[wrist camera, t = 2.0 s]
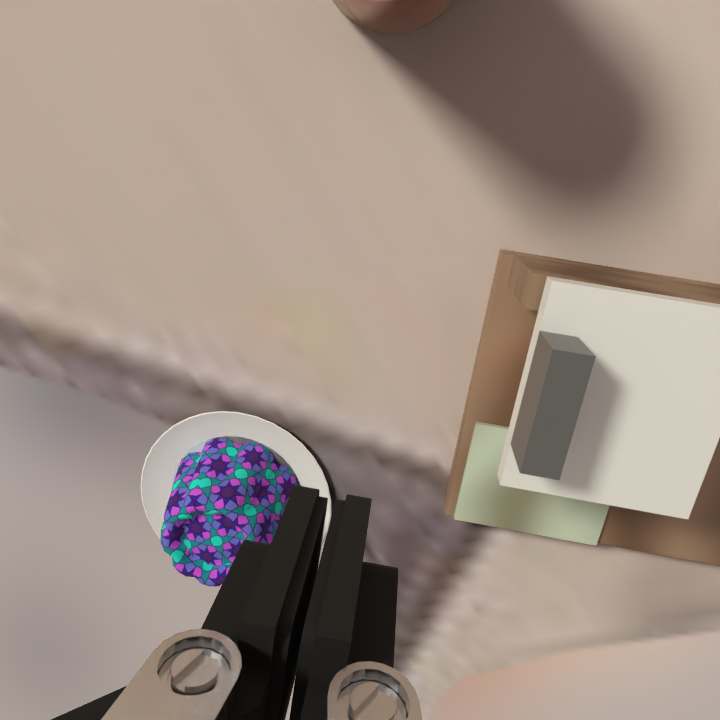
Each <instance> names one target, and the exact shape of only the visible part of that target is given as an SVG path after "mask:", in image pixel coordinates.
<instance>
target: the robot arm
mask: <svg viewBox="0 0 720 720" xmlns="http://www.w3.org/2000/svg"><path fill="white" fill-rule="evenodd" d="M319 492H320V490H319V489H315V488H309V487H304V486H298V485H294V487H293V489H292V492H291V494H290V497H289V499H288V502H287V504H286V507H285V509H284V512H283V514H282V517H281V519H280V522H279V524H278V527H277V529H276V532H275V535H274V537H273V540H272V542H271V544H266V543H261V542H255V541H250V540H244V541H243V543H242V544H241V546H240V548H239V550H238V552H237V555H236V557H235V559H234V561H233V563H232V565H231V567H230V569H229V571H228V573H227V576H226V578H225V580H224V582H223V584H222V586H221V589H220V590H219V593H218V595H217V597H216V599H215V601H214V603H213V605H212V607H211V609H210V611H209V614H208V616H207V618H206V620H205V622H204V624H203V626H202V628H201V629H196V630H188V631H184V632H181V633H177V634H175V635H173V636H171V637H170V638H168V639H166V640H165V641H163V642H162V643H161V644H160V645H159V646H158V647H157V648H156V649H155V650H154V651H153V653H152V654H151V655H150V656H149V658H148V659H147V661H146V662H145V663H144V664H143V666H142V667H141V668H140V670H139V671H138V672H137V674H136V675H135V676H134V677H133V679H132V680H131V681H130V683H129V684H128V685H127V686H126V687H123V688H121V689H119V690H116V691H114V692H112V693H110V694H108V695H105V696H103V697H101V698H98V699H96V700H94V701H92V702H90V703H87V704H85V705H83V706H81V707H79V708H76V709H74V710H72V711H69V712H67V713H65V714H63V715H60V716H58V717H56V718H54V719H52V720H285V717H286V713H287V708H288V705H289V701H290V696H291V692H292V688H293V684H294V680H295V685H294V692H293V699H292V706H291V712H290V719H289V720H422V715H421V709H420V703H419V700H418V697H417V694H416V691H415V689H414V687H413V686H412V685H411V683H410V682H409V680H408V679H407V678H406V677H405V676H403V675H402V674H401V673H400V672H399V671H397V670H396V669H394V668H393V664H394V644H395V625H396V605H397V585H398V568H395V567H390V566H384V565H379V564H373V563H368V562H363V556H364V549H365V542H366V535H367V528H368V521H369V514H370V507H371V500H372V499H370V498H365V497H359V496H354V495H348V494H347V496H346V500H345V501H343V500H337V499H336V500H335V504H334V508H333V512H332V516H331V520H330V524H329V528H328V532H327V536H326V540H325V544H324V548H323V552H322V556H321V560H320V564H319V568H318V563H319V557H320V550H321V544H322V537H323V530H324V524H325V517H326V510H327V503H328V498H326V497H321V496H319ZM295 676H296V678H295Z"/></svg>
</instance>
